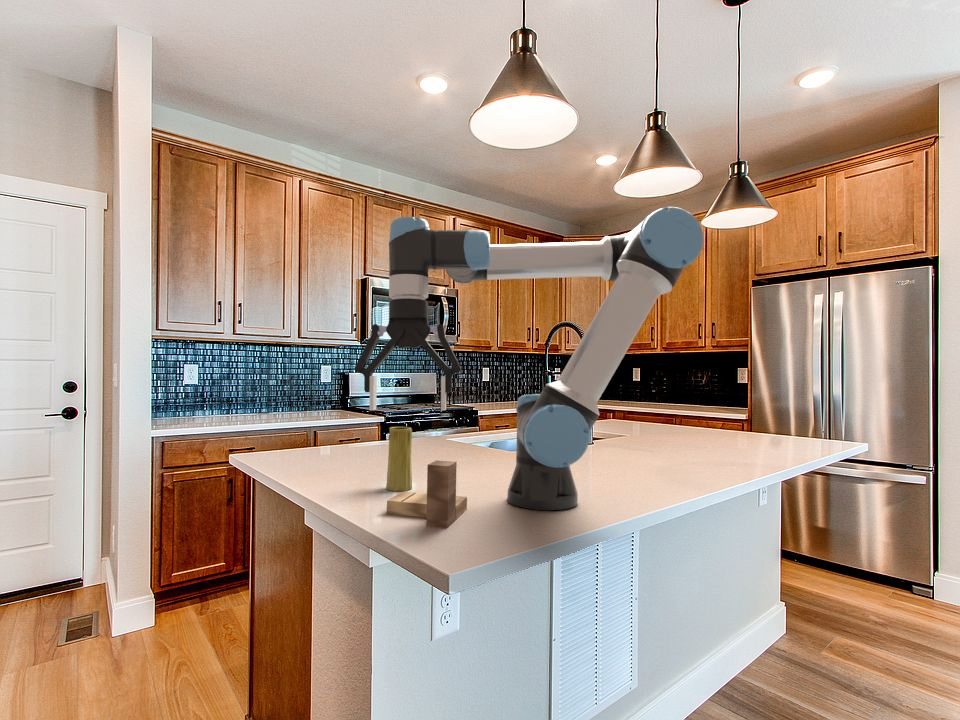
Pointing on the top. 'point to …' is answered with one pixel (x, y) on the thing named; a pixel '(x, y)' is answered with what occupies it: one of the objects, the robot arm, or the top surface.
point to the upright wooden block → (441, 494)
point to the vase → (399, 459)
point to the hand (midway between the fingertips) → (408, 410)
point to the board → (418, 504)
